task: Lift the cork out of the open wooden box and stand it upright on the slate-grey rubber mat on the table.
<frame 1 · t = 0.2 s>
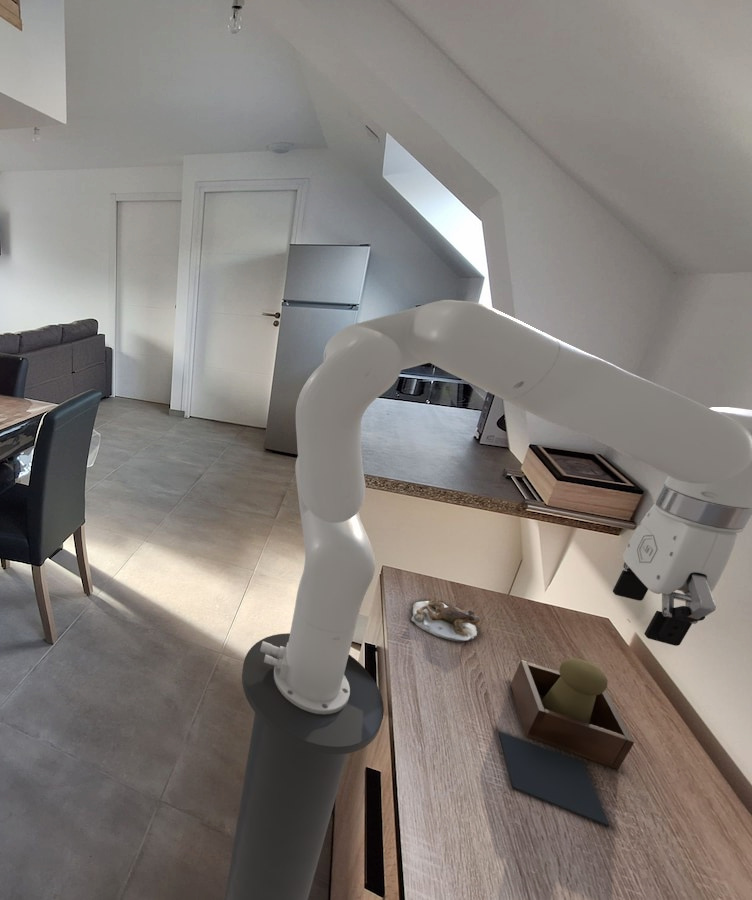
hand: (642, 617, 62), 21 cm above the sideboard, tool pointing down, fingers open, 9 cm apart
frog figurine: (443, 621, 91), on the sideboard
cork: (560, 721, 70), resting on open wooden box
open wooden box: (559, 723, 70), on the sideboard
mat: (548, 775, 63), on the sideboard
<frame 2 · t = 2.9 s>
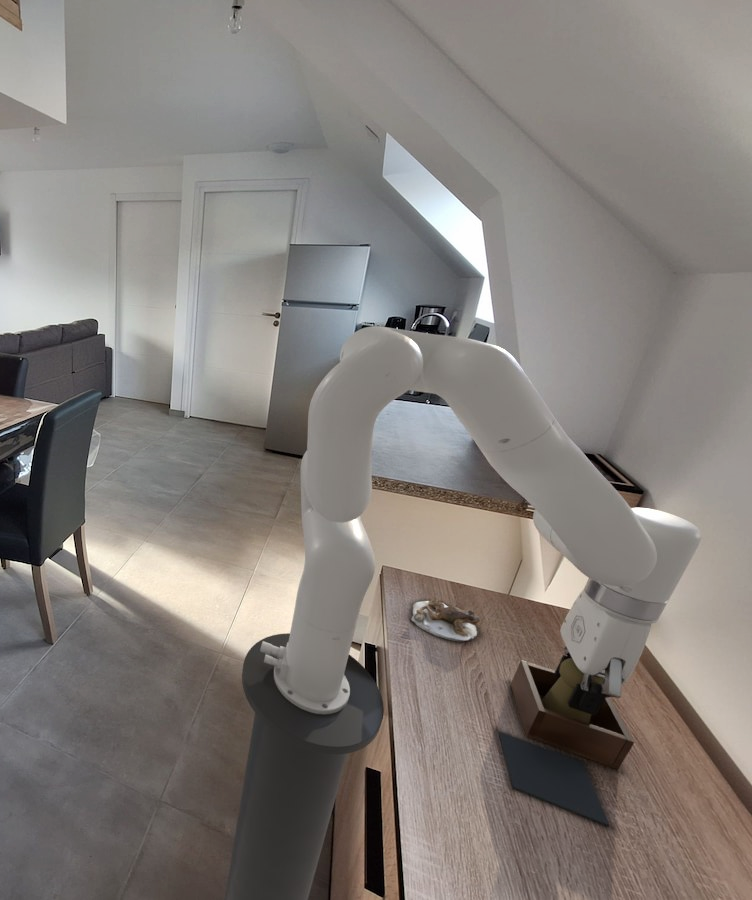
hand: (574, 693, 68), 6 cm above the sideboard, tool pointing down, fingers closed on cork, 5 cm apart
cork: (560, 721, 70), resting on open wooden box, touching gripper
everything else where it was.
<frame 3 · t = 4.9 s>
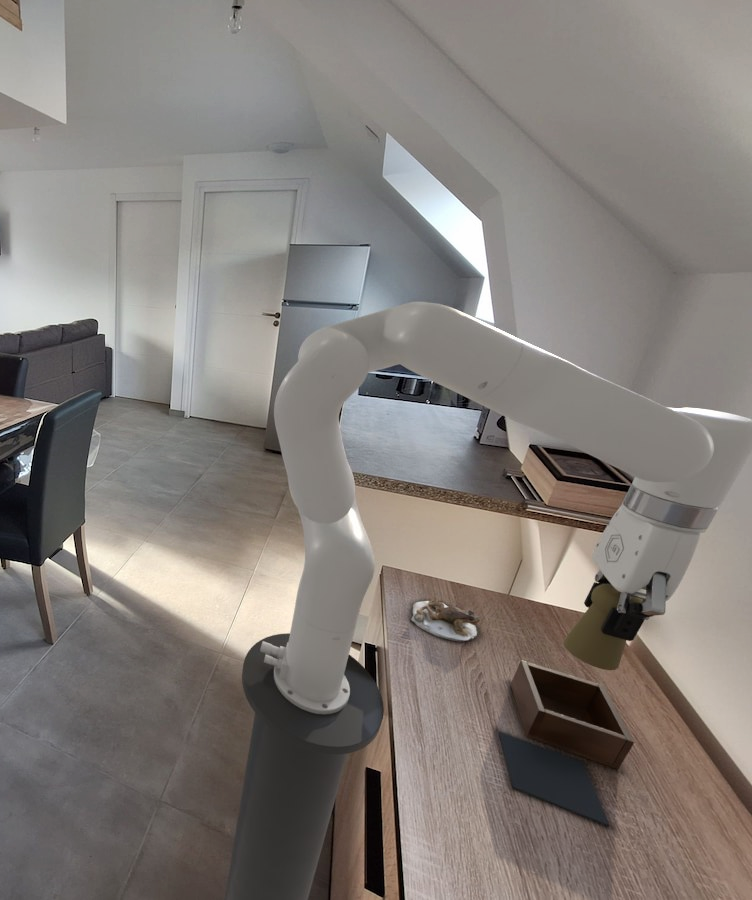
hand: (606, 621, 63), 20 cm above the sideboard, tool pointing down, fingers closed on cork, 5 cm apart
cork: (589, 654, 65), point 14 cm above the sideboard, touching gripper
everything else where it was.
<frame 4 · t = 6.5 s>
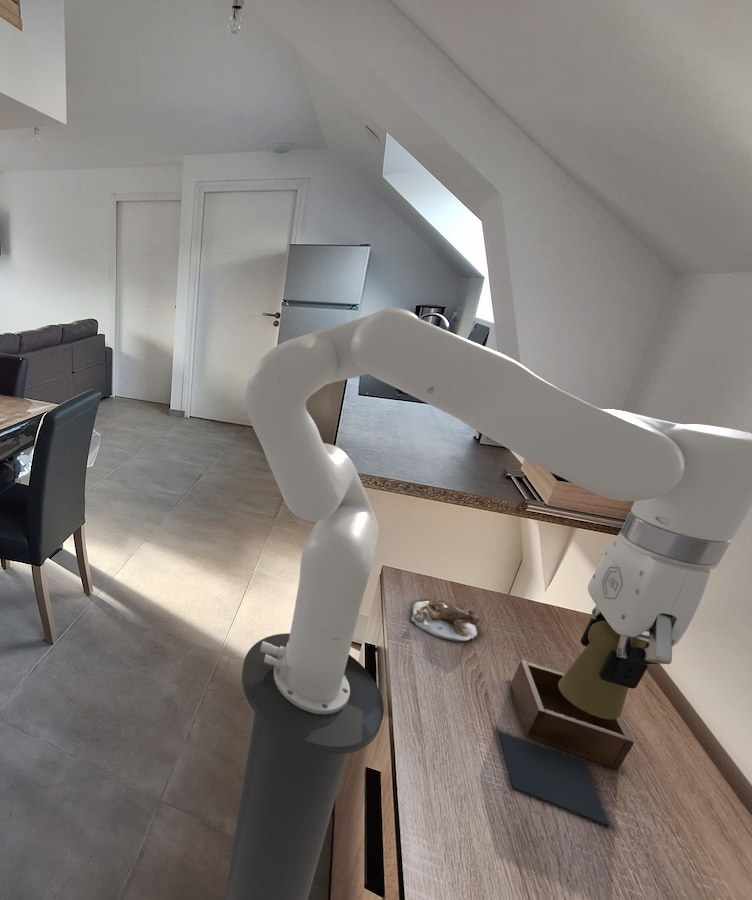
hand: (606, 663, 56), 20 cm above the sideboard, tool pointing down, fingers closed on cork, 5 cm apart
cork: (587, 699, 58), point 14 cm above the sideboard, touching gripper
everything else where it was.
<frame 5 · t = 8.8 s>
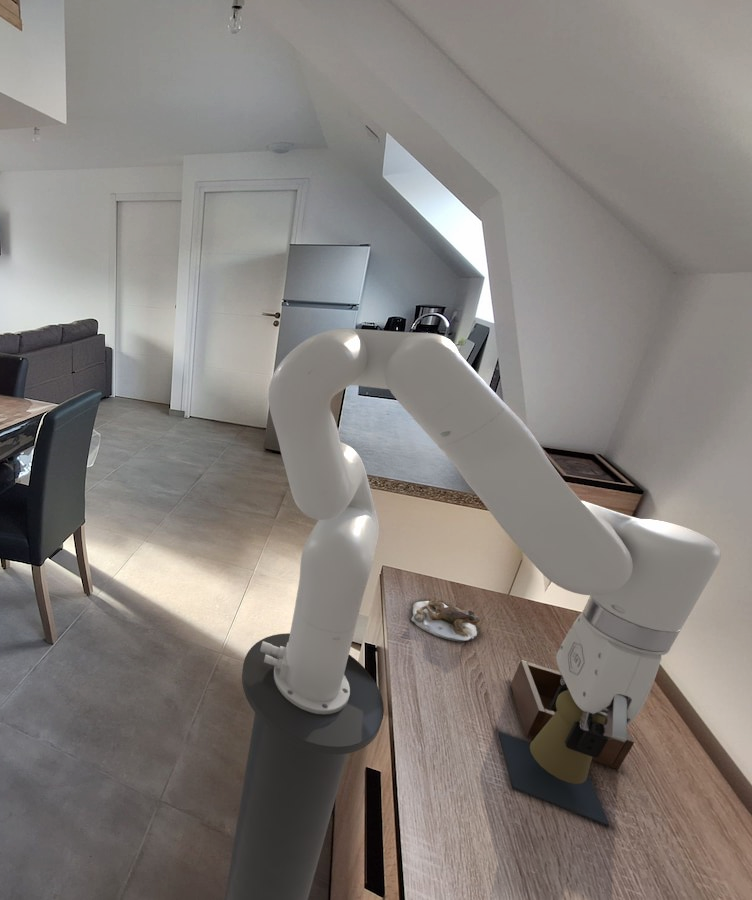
hand: (572, 730, 60), 9 cm above the sideboard, tool pointing down, fingers closed on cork, 5 cm apart
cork: (557, 761, 62), point 3 cm above the sideboard, touching gripper
everything else where it was.
when the fingers open (6 cm above the sideboard, at t = 10.1 s): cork stays where it is, resting on mat.
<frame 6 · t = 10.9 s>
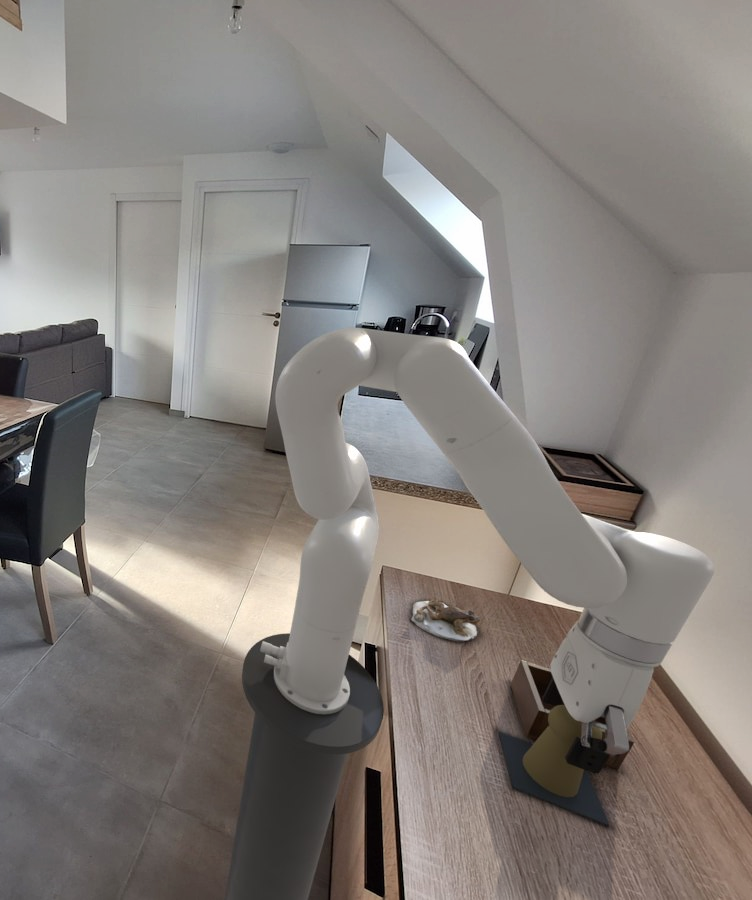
hand: (567, 733, 60), 8 cm above the sideboard, tool pointing down, fingers open, 9 cm apart
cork: (549, 774, 63), resting on mat
everything else where it was.
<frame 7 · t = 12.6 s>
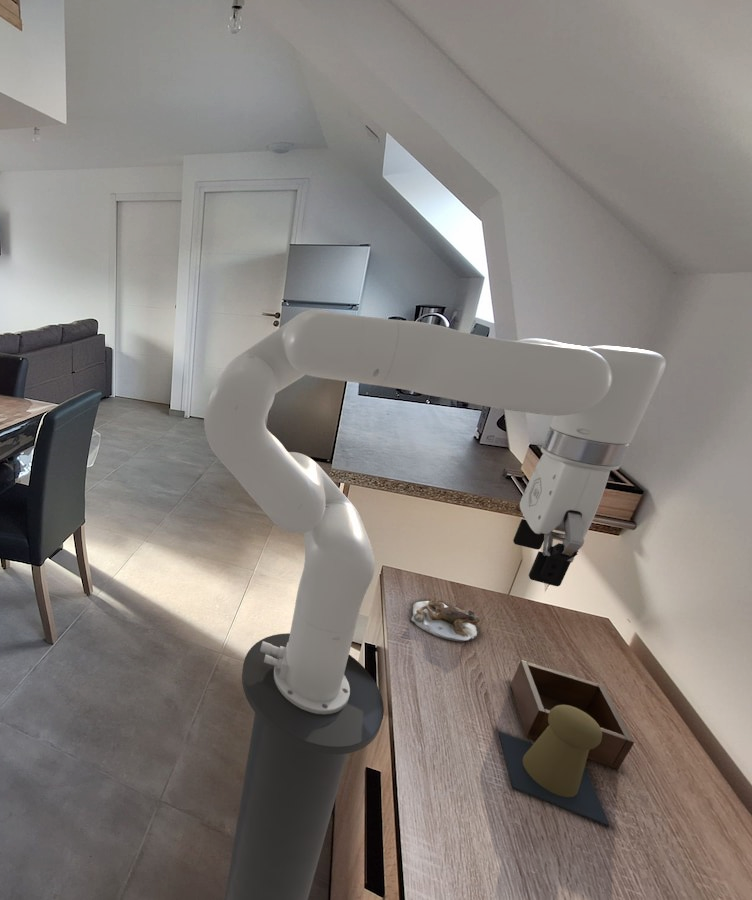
hand: (534, 562, 63), 28 cm above the sideboard, tool pointing down, fingers open, 9 cm apart
nothing on the sideboard moved.
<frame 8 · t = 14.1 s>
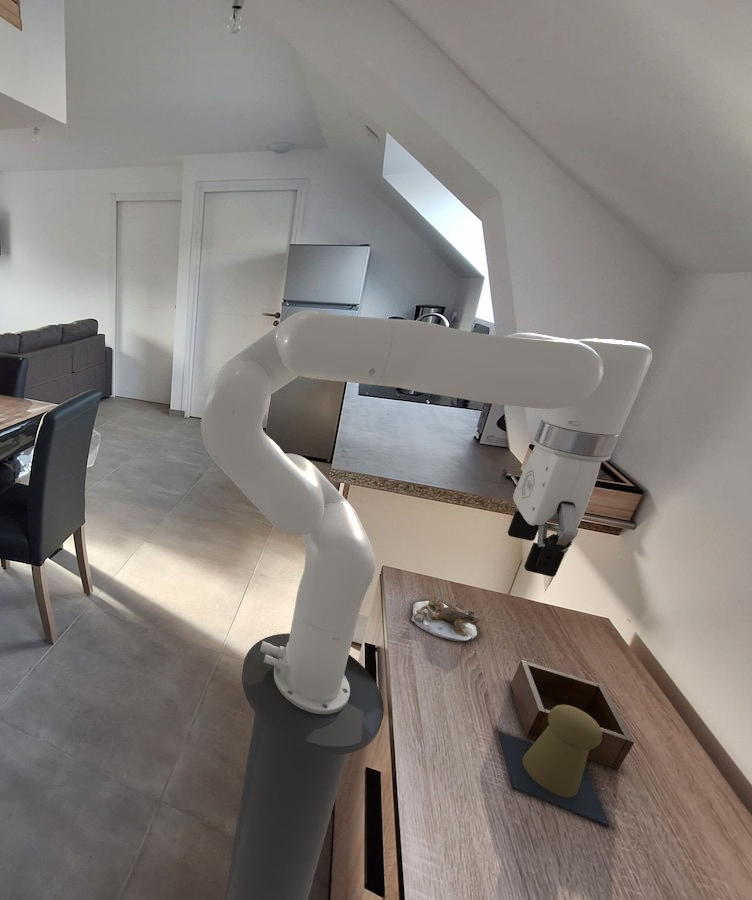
hand: (528, 554, 63), 28 cm above the sideboard, tool pointing down, fingers open, 9 cm apart
nothing on the sideboard moved.
at the end: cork inside the target area on the mat (0.0 cm from its centre), point 0.1 cm above the mat's base; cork tilted 0°; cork touching mat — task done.
